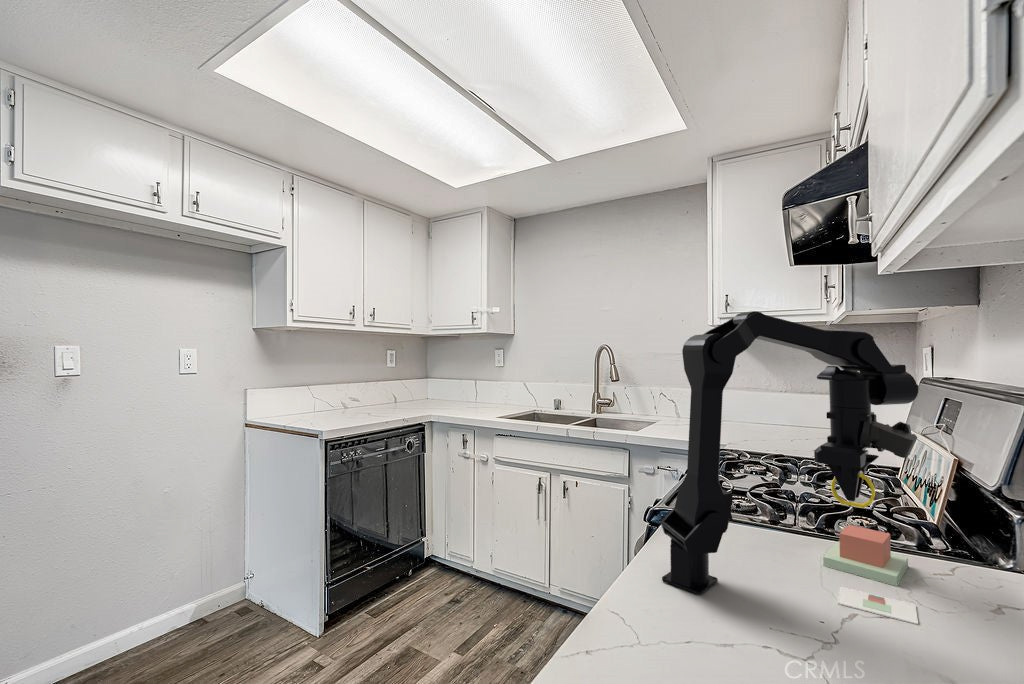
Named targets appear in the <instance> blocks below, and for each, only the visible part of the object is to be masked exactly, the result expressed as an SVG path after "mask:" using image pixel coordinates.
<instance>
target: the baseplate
mask: <svg viewBox="0 0 1024 684" xmlns="http://www.w3.org/2000/svg"><path fill="white" fill-rule="evenodd" d="M822 559H823V560H822V561H823V563H822V566H824V567H828V568H831V569H835V570H837V571H842V572H845V573H848V574H852V575H856V576H860V577H863V578H866V579H868V580H869V579H870V580H873V581H877V582H880V583H884V584H888V585H891V586H894V587H898V586H899V583H900V581H901V579H902V578H903V576H904V574H905V573H906V571H907V570H908V566H909V557H907V556H904V555H899V554H894V553H891V558H890V559H889V560H888V562H887V563H886V565H885V566H884V568H880V567H877V566H873V565H869V564H865V563H861V562H858V561H854V560H850V559H846V558H843V557H840V540H838V541H837V542H836V543H835V544H834V545H833V546H832V547H831V548H830V549H829V550H828V551H827V552H826V553H825V554H824V555H823V557H822Z"/></svg>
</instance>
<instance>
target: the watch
mask: <svg viewBox="0 0 1024 684" xmlns="http://www.w3.org/2000/svg"><path fill="white" fill-rule="evenodd" d="M859 477H861V478H862V479H863V481H864V480H865V482H866V483H867V485H868V486H869V487H870V489H871V491H870V492H871V495H870V498H869V500H867V501H865V502H863V503H860V502H855V501H849V500H847V501H846V500H844V499H843V498H842V497H841V496H840V495H839V494H838V493H837V490H836V482H837V480H836V479H835V477H834V478H833V479H832V480H831V484H830V485H831V486H830V488H831V493H832V495H833V497H834V498H835V499H836V501H838V502H839V503H840V504H841V505H843V506H844V505H845V506H852V507H855V508H856V507H858V508H861V509H863V508H866V507H868V506H869V505H871V504H872V503H873V500H874V499H875V496H876V489H875V485H874V483H873V482H872V481H871V479H870V477H868V476H866V475H863V472H862V471H860V476H859Z"/></svg>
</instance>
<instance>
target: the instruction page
mask: <svg viewBox="0 0 1024 684" xmlns="http://www.w3.org/2000/svg"><path fill="white" fill-rule="evenodd" d="M837 604H838V605H841V606H845V607H847V608H848V607H849V608H853V609H856V610H860V611H865V612H869V613H873V614H874V615H875V614H876V615H879V616H883V617H887V618H891V619H895V620H899V621H902V622H906V623H910V624H914V625H918V626H919V621H918V612H917V606H916V604H914V603H911V602H907V601H902V600H899V599H893V598H890V597H885V596H881V595H878V594H873V593H869V592H865V591H860V590H857V589H856V590H855V589H852V588H847V587H844V586H840V587H839V593H838V600H837Z"/></svg>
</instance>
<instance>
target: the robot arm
mask: <svg viewBox="0 0 1024 684" xmlns="http://www.w3.org/2000/svg"><path fill="white" fill-rule="evenodd" d="M756 339H757V340H759V341H760V340H761V341H765V342H768V343H773V344H777V345H780V346H783V347H788V348H792V349H796V350H799V351H804V352H807V353H808V354H810V355H811V356H813V357H814V359H817V360H819V361H822V362H823V363H825V364H828V365H826V367H825V368H824V370H822V371H820V373H819V374H817V376H816V379H817V380H821V381H822V380H823V381H828V383H829V385H828V387H829V390H828V391H829V392H828V394H829V411H827V412H826V419H829V420H830V421H829V423H830V426H829V427H830V435H828V436H827V437H826V439H827V442H825V443H823V444H821V445H820V446H818V447H817V448H815V449H814V450H813V452H814V453H813V454H814V462H815V463H817V464H824V465H827V466H828V469H829V470H830V471H831V473H832V475H833V477H834V478H835V479H836V482H837V485H838V486H839V487H840V489H841V492H842V493H843V495H844V497H845V499H846V500H847V501H848V502H855V501H856V499H858V498H859V497H860V494H861V491H862V487H863V483H864V479H862V478H861V477H859V476H860V471H862V472H863V475H865V474H866V471H867V467H868V466H869V465H870V464H871V463H873V462H875V461H876V460H877V459H878V458H880V456H879V455H877V454H876V455H875V454H871V453H870V454H869V450H867V449H877V452H881V453H882V452H884V451H887V452H890V453H892V454H893V455H894V456H897V457H900V458H903V459H907V458H908V457H909V456H910V455H911V452H912V451H913V448H914V445H915V444H916V441H917V440H918V436H917V434H915V433H913V434H912V429H911V424H908V423H905V422H902V421H898V422H896V423H895V424H894V425H892V426H891V425H890V424H888V423H887V424H884V423H881V422H878V421H877V414H875V412H874V411H872V406H886V405H887V406H888V405H889V406H891V405H908V404H910V403H912V402H915V400H916V398H917V397H918V394H919V385H918V384H917V381H916V379H915V378H914V377H913V376H912V374H910V373H909V372H907V371H906V370H907V366H906V364H896V363H895V364H891V362H890V361H889V360H888V359H887V358H886V356H885V355H884V353H883V352H882V351H881V349H880V348H879V346H878V345H877V344H876V341H875V340H874V339H875V337H874V336H873V335H872V334H870V333H869V332H866V331H857V330H830V329H829V330H827V329H822V328H817V327H813V326H810V325H805V324H802V323H799V322H794V321H790V320H786V319H784V318H783V319H782V318H778V317H775V316H770V315H769V314H768V315H767V314H764V313H763V312H761V311H755V310H754V311H753V310H752V311H747V312H740V313H737V314H736V315H735V316H733V317H731V318H730V319H728V320H727V321H726V322H723V323H720V324H719V325H717V326H716V327H713V328H712V329H710V330H707V331H706V332H704V333H703V334H694V335H693V336H690V337H689V338H688V339H687V340H686V341H685V342H684V344H682V345H683V346H682V352H681V353H682V360H683V369H684V370H683V371H684V373H685V375H686V378H687V381H688V383H689V386H690V406H689V408H690V409H689V429H688V445H687V446H688V448H687V449H688V450H687V468H686V475H685V477H684V479H683V481H682V482H681V484H680V486H679V487H678V491H677V495H676V500H675V504H674V507H673V508H672V509H671V511H669V513H667V515H666V516H665V517H664V518H663V519H662V520H661V522H660V525H661V528H662V531H663V533H664V534H665V535H666V536H668V537H669V538H670V546H669V547H670V571H669V572H667V573H666V574H665V575H663V576H661V581H662V582H664V583H667V584H669V585H672V586H675V587H678V588H680V589H683V590H685V591H687V592H689V593H693V594H696V595H702V594H703V593H705V592H706V591H707V590H709V589H710V588H712V586H714V585H715V584H717V583H718V580H719V579H718V577H716V576H713V575H710V571H709V570H710V569H709V565H710V564H709V563H710V562H709V556H710V554H716V553H718V551H719V547H720V544H721V540H722V538H723V534H725V533H726V532H727V530H728V528H729V523H730V521H733V520H734V519H733V515H732V505H733V501H734V500H733V499H734V498H733V493H731V492H729V491H727V490H725V489H723V488H722V485H721V483H720V477H719V476H720V461H721V460H720V458H721V457H720V456H721V437H722V435H721V434H722V433H721V432H722V415H723V414H722V413H723V396H724V394H723V393H724V389H725V388H726V386H727V384H728V382H729V380H730V378H731V377H732V375H733V373H734V367H735V363H736V359H737V356H739V355H740V354H741V353H743V352H745V351H746V350H748V348H749V347H750V346H751V345H752V344H753V342H754V341H755V340H756ZM865 476H866V475H865Z"/></svg>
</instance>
